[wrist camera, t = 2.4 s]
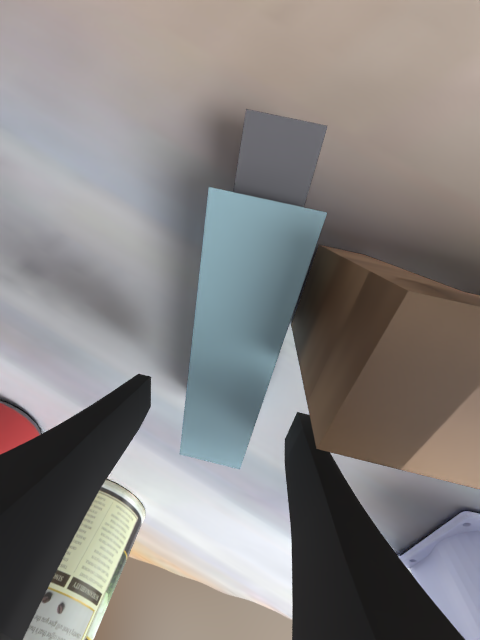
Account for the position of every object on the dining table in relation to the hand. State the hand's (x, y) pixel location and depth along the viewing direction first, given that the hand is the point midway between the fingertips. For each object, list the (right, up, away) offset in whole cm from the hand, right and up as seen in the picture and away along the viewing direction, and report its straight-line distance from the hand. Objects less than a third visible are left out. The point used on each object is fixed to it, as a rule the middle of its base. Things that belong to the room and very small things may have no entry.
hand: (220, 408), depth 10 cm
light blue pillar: (+1, +4, +1) cm, 4 cm away
